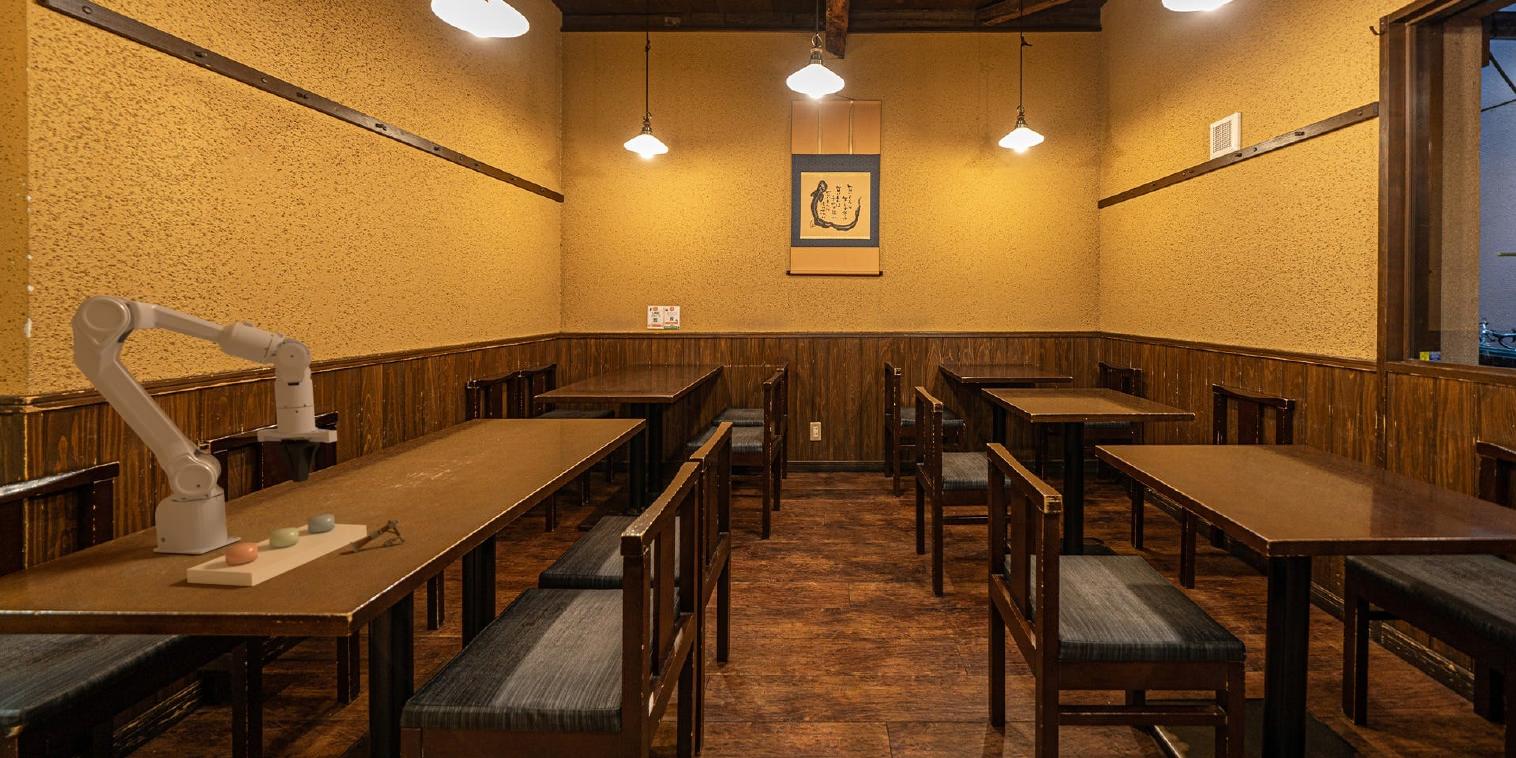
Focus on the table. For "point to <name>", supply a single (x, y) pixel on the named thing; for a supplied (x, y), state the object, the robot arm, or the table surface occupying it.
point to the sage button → (283, 537)
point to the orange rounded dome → (241, 553)
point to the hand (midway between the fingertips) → (300, 480)
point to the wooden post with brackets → (377, 534)
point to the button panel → (276, 557)
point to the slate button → (321, 523)
